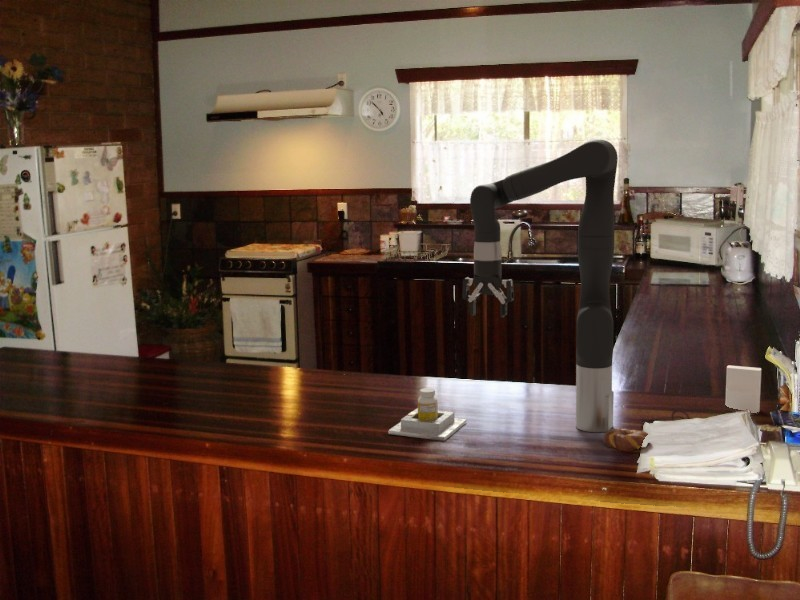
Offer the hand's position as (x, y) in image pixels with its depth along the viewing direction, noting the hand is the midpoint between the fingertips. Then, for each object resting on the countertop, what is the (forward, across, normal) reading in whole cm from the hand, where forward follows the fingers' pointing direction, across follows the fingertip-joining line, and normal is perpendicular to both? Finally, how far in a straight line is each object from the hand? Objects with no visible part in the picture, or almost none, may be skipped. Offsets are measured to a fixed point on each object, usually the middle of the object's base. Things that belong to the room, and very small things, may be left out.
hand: (488, 315), depth 247 cm
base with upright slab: (+28, +65, +28) cm, 76 cm away
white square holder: (+28, -11, -18) cm, 35 cm away
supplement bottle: (+27, -11, -18) cm, 34 cm away
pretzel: (+29, +41, -12) cm, 51 cm away
